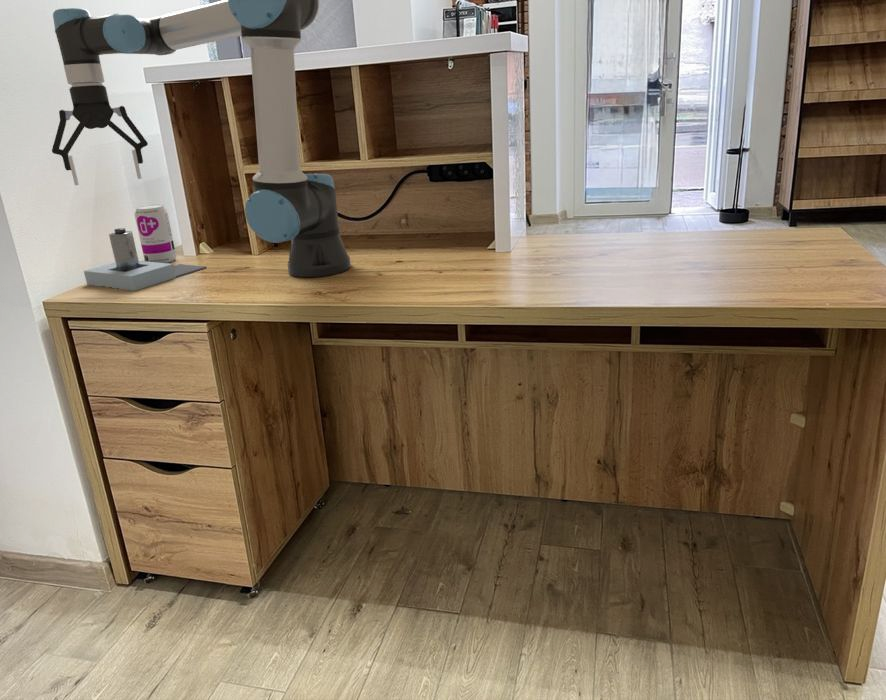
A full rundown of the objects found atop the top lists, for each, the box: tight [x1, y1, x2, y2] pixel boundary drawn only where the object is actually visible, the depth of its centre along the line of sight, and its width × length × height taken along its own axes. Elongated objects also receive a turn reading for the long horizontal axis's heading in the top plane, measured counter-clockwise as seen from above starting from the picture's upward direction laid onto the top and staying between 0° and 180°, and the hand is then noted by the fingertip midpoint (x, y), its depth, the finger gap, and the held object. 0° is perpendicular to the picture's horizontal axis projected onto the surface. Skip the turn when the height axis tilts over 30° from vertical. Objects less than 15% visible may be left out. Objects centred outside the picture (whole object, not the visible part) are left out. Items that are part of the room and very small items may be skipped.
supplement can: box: [134, 204, 177, 264], centre depth 190 cm, size 8×8×15 cm
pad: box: [173, 263, 207, 279], centre depth 180 cm, size 10×10×1 cm
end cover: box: [108, 227, 140, 272], centre depth 171 cm, size 5×5×13 cm
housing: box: [83, 260, 176, 292], centre depth 173 cm, size 18×12×4 cm, turn 60°
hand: (108, 181), depth 165 cm, fingers open, 13 cm apart
